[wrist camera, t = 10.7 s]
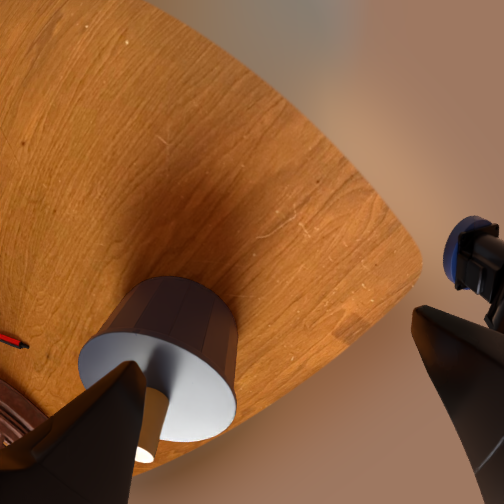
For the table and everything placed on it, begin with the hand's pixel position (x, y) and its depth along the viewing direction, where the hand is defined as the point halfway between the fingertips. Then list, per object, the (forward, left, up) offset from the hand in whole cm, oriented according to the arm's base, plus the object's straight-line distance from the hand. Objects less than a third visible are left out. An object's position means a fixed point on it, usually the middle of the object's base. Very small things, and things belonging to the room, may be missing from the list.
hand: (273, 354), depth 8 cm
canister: (+9, +7, -13) cm, 17 cm away
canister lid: (+9, +7, -6) cm, 13 cm away
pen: (+40, +5, -14) cm, 42 cm away
